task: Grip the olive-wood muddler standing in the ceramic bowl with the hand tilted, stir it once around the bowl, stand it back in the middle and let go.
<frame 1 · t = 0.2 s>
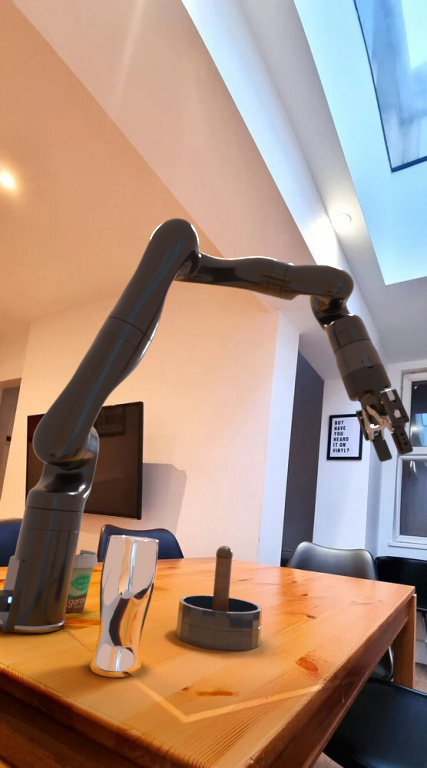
hand: (396, 457, 72), 31 cm above the table, tool tilted 20°, fingers open, 8 cm apart
food container: (69, 614, 75), on the table
muddler: (217, 637, 67), point 1 cm above the table, touching bowl
beer glass: (115, 670, 51), on the table
bowl: (217, 641, 67), on the table
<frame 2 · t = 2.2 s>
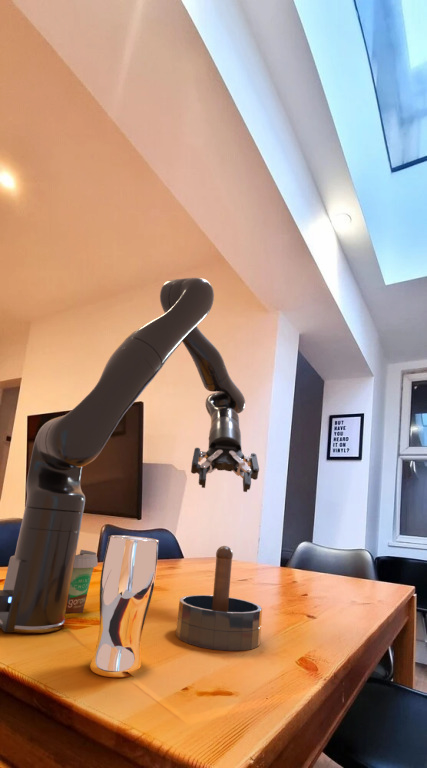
hand: (224, 486, 85), 25 cm above the table, tool tilted 45°, fingers open, 8 cm apart
nothing on the table moved.
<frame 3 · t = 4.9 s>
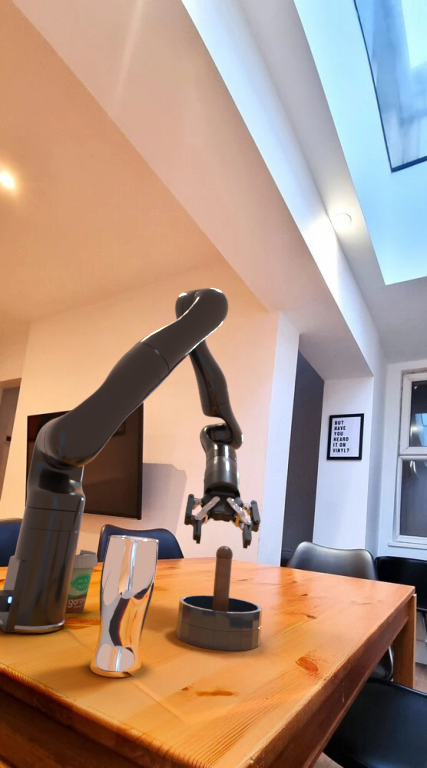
hand: (222, 543, 75), 14 cm above the table, tool tilted 45°, fingers open, 8 cm apart
nothing on the table moved.
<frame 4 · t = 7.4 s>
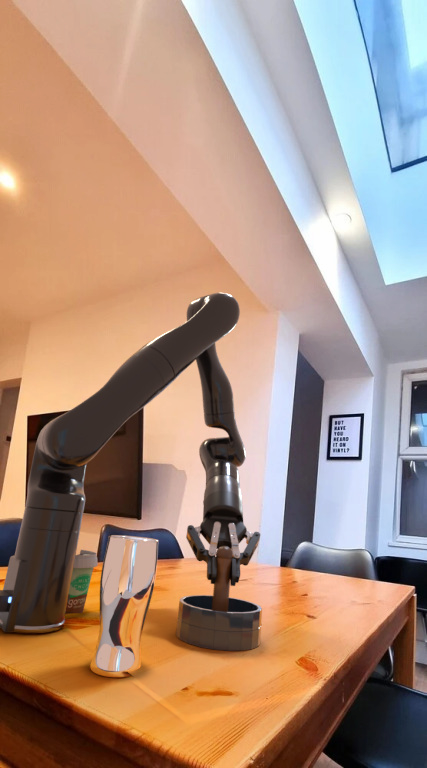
hand: (223, 581, 67), 9 cm above the table, tool tilted 45°, fingers closed on muddler, 2 cm apart
muddler: (217, 637, 67), point 1 cm above the table, touching bowl, gripper
everything else where it was.
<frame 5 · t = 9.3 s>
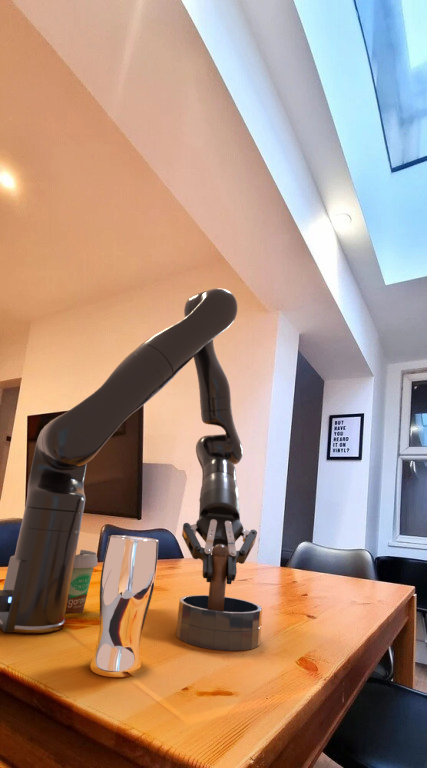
hand: (219, 579, 66), 9 cm above the table, tool tilted 45°, fingers closed on muddler, 2 cm apart
muddler: (213, 636, 66), point 1 cm above the table, touching gripper
everything else where it was.
when the fingers open (9 cm above the table, at t = 11.2 s): muddler stays where it is, resting on bowl.
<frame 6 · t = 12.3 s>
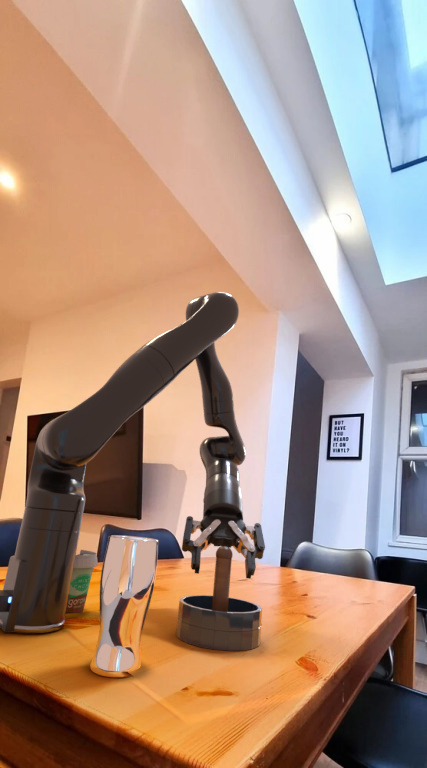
hand: (223, 572, 69), 10 cm above the table, tool tilted 45°, fingers open, 8 cm apart
muddler: (217, 637, 67), point 1 cm above the table, touching bowl
everything else where it was.
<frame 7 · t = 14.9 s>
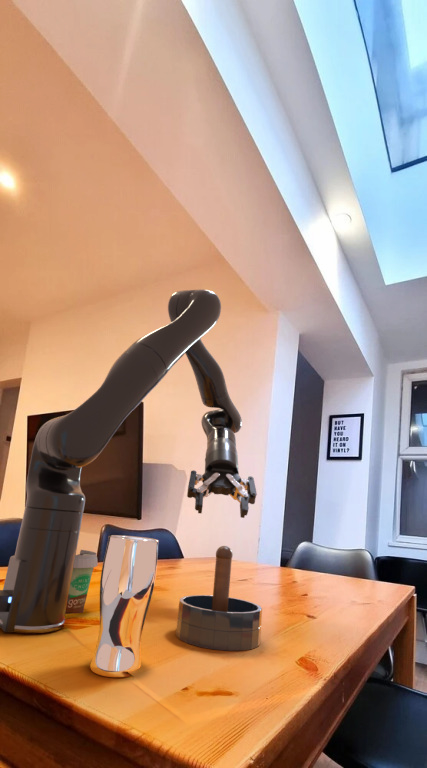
hand: (221, 512, 83), 20 cm above the table, tool tilted 45°, fingers open, 8 cm apart
nothing on the table moved.
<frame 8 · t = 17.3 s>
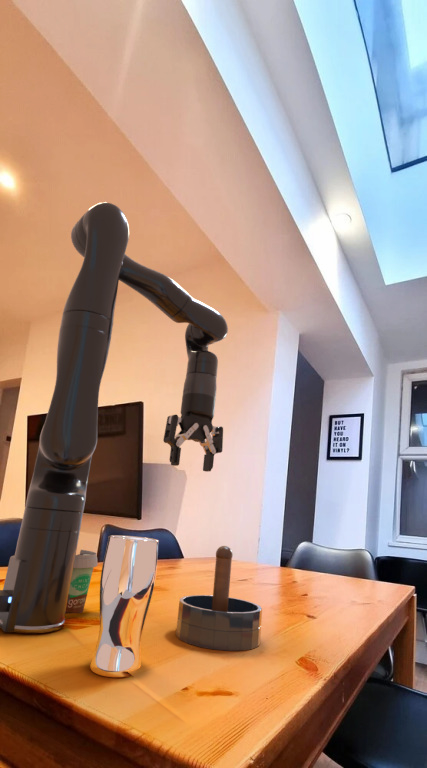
hand: (191, 468, 91), 28 cm above the table, tool pointing down, fingers open, 8 cm apart
nothing on the table moved.
at the end: muddler 0.1 cm off-centre in the bowl, point 0.6 cm above the bowl's base; muddler tilted 0°; the gripper is holding nothing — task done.
